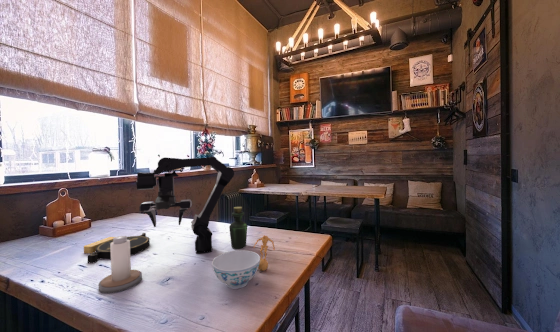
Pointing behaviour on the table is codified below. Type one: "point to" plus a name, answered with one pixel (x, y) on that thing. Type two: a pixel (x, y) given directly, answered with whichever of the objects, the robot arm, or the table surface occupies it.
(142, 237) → the decorative sign
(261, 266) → the figurine
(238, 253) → the chinaware
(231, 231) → the potion bottle
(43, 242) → the table surface
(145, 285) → the table surface
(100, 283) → the display plinth
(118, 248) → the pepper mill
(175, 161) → the robot arm
